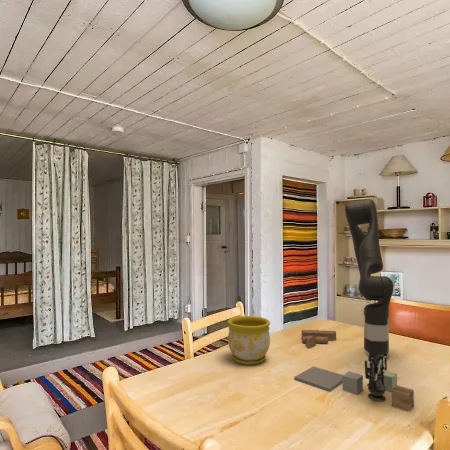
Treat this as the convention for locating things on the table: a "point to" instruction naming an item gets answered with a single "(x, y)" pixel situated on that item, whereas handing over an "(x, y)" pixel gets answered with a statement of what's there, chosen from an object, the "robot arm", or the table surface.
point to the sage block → (390, 380)
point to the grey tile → (320, 378)
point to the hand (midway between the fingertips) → (376, 387)
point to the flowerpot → (249, 339)
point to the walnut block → (402, 398)
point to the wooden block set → (317, 337)
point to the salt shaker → (378, 389)
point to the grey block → (353, 382)
